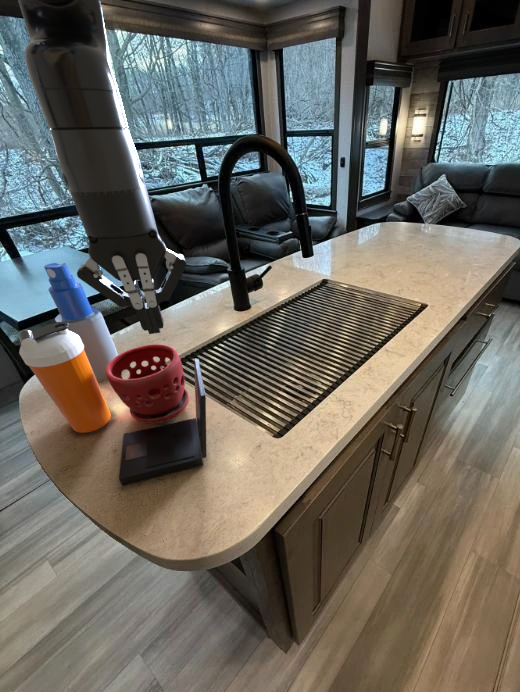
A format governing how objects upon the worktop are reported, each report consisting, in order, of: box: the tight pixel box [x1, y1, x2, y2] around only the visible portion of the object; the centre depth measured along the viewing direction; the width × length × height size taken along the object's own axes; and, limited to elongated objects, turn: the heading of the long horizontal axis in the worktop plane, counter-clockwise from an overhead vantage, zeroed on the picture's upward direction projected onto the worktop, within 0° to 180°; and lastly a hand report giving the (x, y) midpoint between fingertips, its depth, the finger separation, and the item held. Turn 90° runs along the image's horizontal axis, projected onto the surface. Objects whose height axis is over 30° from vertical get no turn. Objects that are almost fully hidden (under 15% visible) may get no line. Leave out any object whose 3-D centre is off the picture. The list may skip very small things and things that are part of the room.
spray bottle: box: [43, 262, 119, 382], centre depth 73 cm, size 9×9×25 cm
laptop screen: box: [193, 358, 207, 459], centre depth 56 cm, size 13×11×1 cm
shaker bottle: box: [18, 322, 112, 434], centre depth 60 cm, size 9×9×20 cm
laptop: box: [118, 417, 204, 487], centre depth 59 cm, size 13×11×2 cm
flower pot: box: [106, 343, 190, 424], centre depth 65 cm, size 13×13×12 cm
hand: (154, 331), depth 46 cm, fingers closed
